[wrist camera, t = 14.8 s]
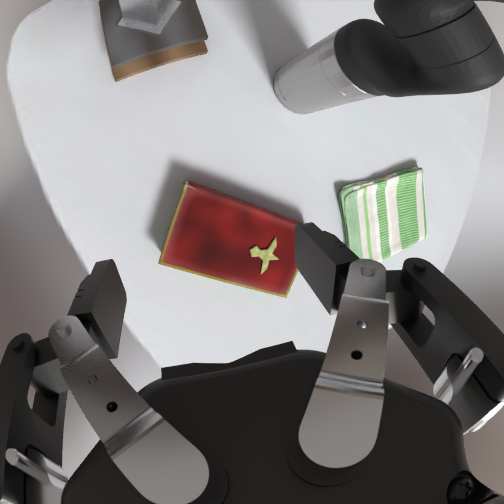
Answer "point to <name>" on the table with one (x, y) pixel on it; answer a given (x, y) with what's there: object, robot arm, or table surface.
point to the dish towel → (384, 214)
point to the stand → (152, 40)
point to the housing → (147, 15)
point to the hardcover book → (231, 241)
